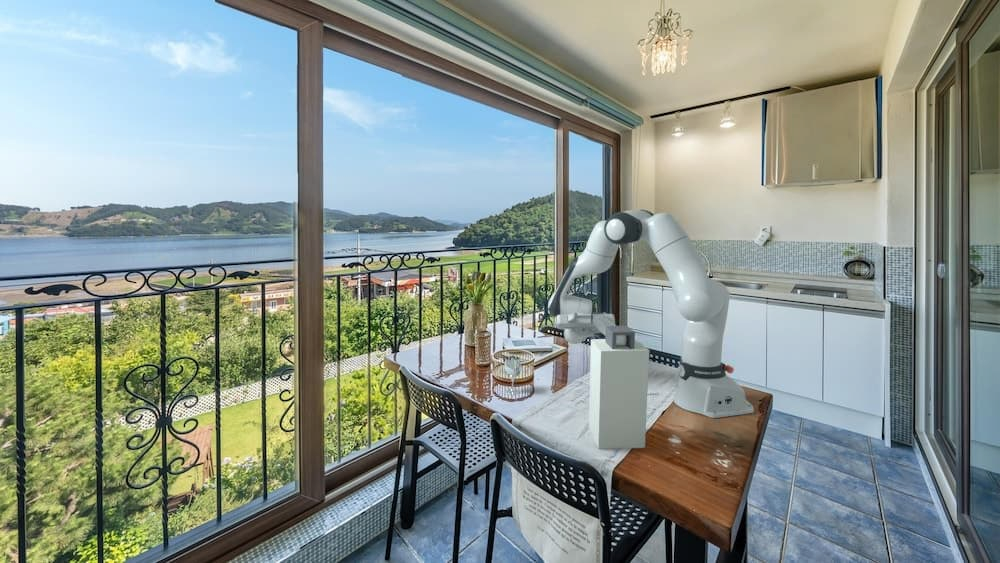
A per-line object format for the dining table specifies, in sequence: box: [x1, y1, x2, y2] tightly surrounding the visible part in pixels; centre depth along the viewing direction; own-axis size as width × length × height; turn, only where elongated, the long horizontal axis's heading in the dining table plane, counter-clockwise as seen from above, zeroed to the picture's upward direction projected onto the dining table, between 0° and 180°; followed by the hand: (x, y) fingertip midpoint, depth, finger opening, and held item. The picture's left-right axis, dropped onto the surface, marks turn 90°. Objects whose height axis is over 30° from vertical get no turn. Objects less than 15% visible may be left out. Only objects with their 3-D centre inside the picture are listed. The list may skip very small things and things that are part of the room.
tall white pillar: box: [588, 325, 650, 450], centre depth 104 cm, size 12×10×30 cm
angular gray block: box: [591, 311, 627, 346], centre depth 113 cm, size 3×24×3 cm, turn 1°
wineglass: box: [503, 355, 522, 395], centre depth 135 cm, size 6×6×12 cm
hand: (589, 314), depth 132 cm, fingers open, 8 cm apart
